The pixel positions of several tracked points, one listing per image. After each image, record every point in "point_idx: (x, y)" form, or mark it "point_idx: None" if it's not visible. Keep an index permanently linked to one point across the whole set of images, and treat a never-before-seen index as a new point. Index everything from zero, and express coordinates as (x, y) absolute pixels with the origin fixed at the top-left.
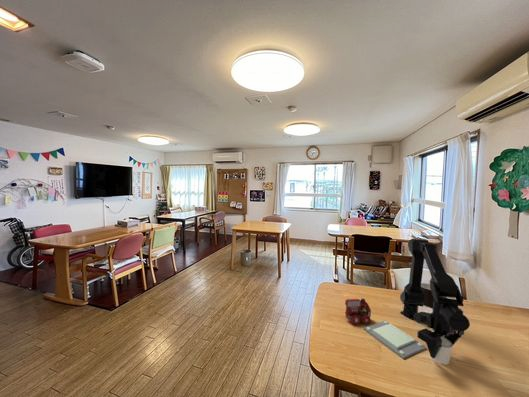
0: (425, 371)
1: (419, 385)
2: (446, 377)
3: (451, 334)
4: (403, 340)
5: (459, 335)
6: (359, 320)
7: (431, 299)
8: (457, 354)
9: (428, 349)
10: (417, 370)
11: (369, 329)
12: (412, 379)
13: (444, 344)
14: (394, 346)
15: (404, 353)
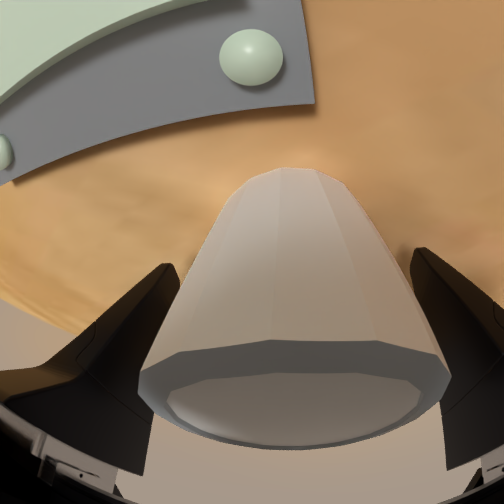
0: (83, 276)
1: (34, 302)
2: None
3: (478, 457)
4: (53, 16)
5: (475, 476)
6: None
7: None
8: (475, 254)
9: (109, 310)
10: (48, 258)
11: None
12: (19, 279)
13: (269, 437)
14: None
15: (5, 167)
